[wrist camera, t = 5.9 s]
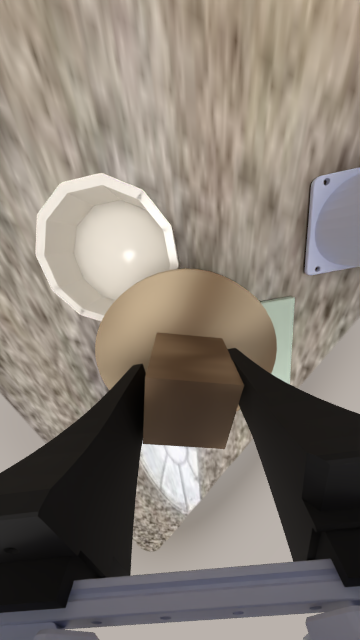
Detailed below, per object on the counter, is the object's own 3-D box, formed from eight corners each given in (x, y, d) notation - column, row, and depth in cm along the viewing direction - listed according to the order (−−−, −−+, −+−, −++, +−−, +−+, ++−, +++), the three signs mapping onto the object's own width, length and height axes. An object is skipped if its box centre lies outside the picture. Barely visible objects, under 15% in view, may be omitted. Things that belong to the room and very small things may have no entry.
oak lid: (293, 279, 11) (383, 304, 6) (246, 418, 15) (276, 495, 10) (95, 258, 10) (23, 268, 5) (106, 408, 14) (72, 484, 10)
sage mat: (291, 296, 19) (294, 297, 18) (286, 395, 24) (288, 399, 24) (161, 319, 20) (161, 321, 19) (184, 410, 25) (184, 413, 24)
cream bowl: (164, 183, 15) (158, 159, 11) (185, 296, 19) (187, 311, 15) (53, 208, 16) (7, 195, 12) (94, 313, 19) (71, 332, 15)
